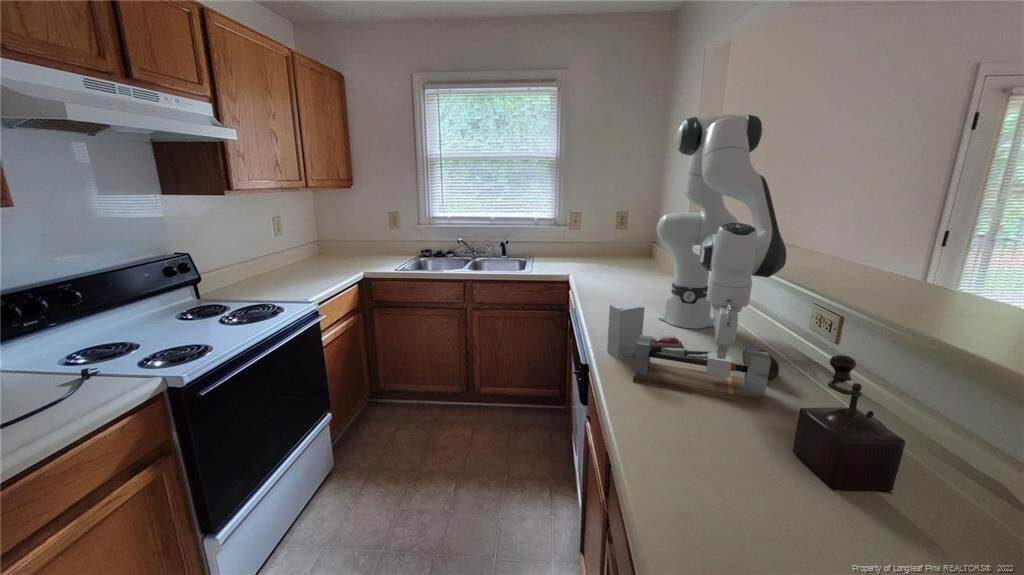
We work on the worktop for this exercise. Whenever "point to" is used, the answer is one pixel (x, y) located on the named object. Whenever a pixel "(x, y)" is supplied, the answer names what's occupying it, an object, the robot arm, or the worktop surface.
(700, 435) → the worktop surface
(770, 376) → the perforated stone tool
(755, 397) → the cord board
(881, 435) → the manual coffee grinder
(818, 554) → the worktop surface
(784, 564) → the worktop surface
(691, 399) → the worktop surface
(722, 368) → the sleeve
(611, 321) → the skincare box
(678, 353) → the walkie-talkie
